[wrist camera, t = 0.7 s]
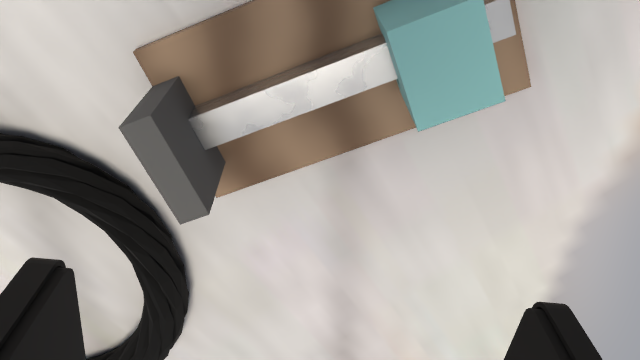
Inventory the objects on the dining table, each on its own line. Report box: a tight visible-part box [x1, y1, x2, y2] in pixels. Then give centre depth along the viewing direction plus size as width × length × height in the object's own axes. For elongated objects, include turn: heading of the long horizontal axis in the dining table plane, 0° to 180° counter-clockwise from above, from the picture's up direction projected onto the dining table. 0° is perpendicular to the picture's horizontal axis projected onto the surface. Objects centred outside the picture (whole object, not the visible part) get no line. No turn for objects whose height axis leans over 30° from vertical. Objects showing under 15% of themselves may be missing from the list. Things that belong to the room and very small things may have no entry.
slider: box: [373, 0, 505, 132], centre depth 30 cm, size 5×6×6 cm
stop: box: [119, 76, 225, 224], centre depth 33 cm, size 2×7×7 cm, turn 21°
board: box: [133, 0, 531, 198], centre depth 34 cm, size 24×12×1 cm, turn 111°
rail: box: [188, 0, 516, 150], centre depth 33 cm, size 21×2×2 cm, turn 111°
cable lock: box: [0, 134, 189, 360], centre depth 41 cm, size 28×4×30 cm
